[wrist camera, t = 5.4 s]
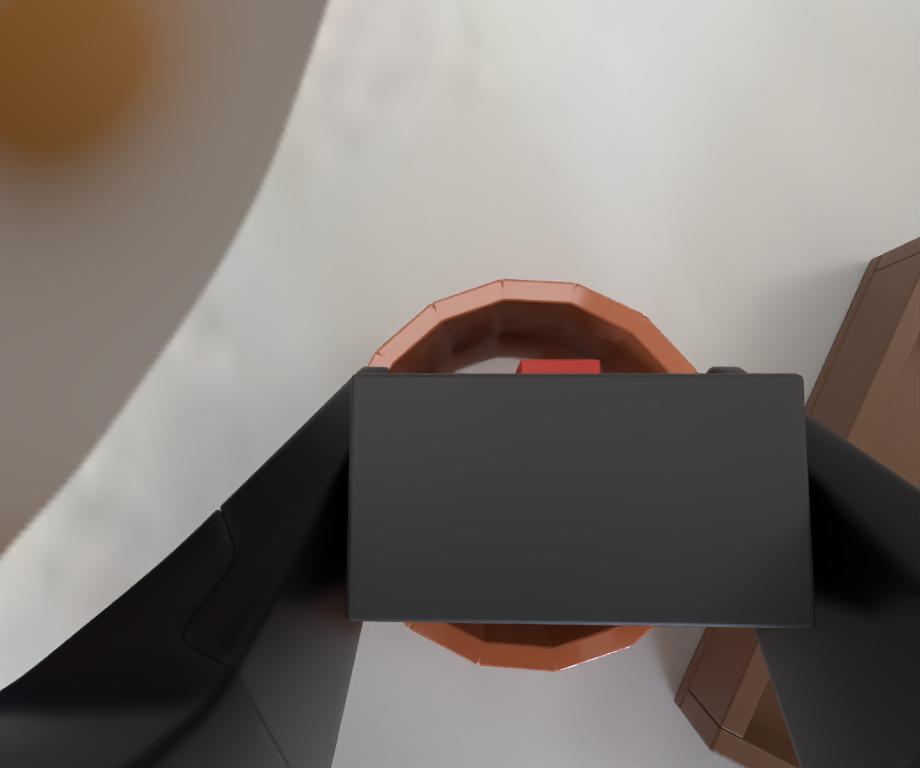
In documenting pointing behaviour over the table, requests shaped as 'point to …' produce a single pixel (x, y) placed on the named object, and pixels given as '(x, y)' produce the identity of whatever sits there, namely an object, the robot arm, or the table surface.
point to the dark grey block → (579, 498)
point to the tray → (867, 427)
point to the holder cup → (500, 351)
